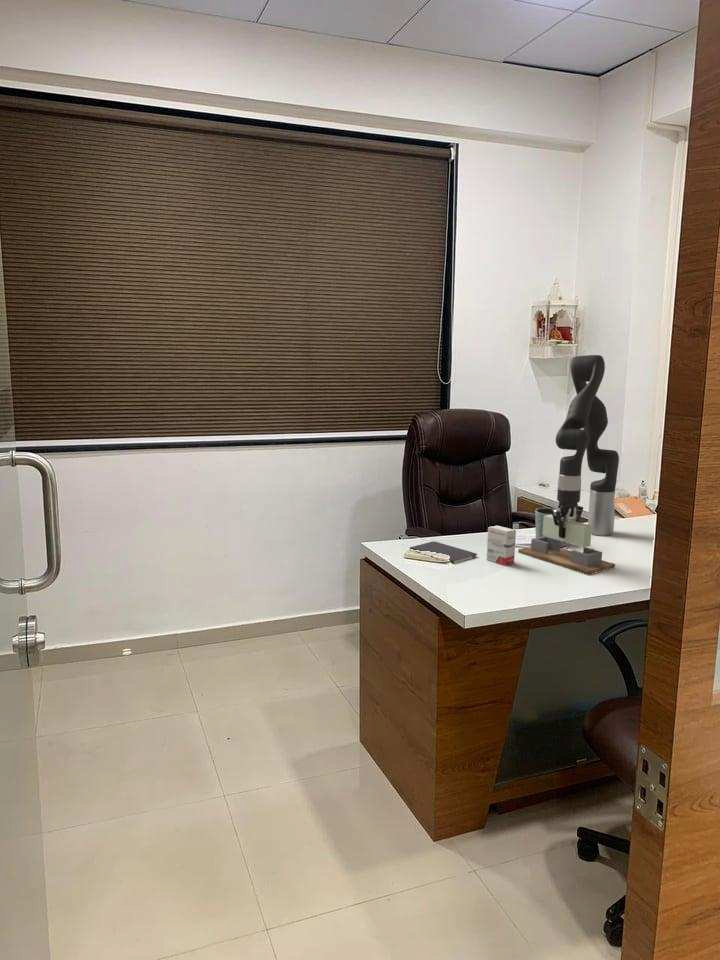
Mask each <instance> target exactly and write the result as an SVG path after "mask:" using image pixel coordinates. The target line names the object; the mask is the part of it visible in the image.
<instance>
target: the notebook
mask: <svg viewBox="0 0 720 960" xmlns="http://www.w3.org/2000/svg"><path fill="white" fill-rule="evenodd" d="M410 549H413V550H419V551H430V552H436V553H442V554H446V555H449V556H450V559H449V560H450V562H451V563H450V564H452V565H454V564H457V563H461V562H463V561H467V560H470V559H475V558H477V555H478V553H476V552H473V551H470V550H466V549H462V548H459V547H456V546H452V545H449V544H445V543H442V542H439V541H428V542H425V543H422V544H417V545H413V546H410V547H409V550H410Z"/></svg>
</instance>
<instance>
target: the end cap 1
mask: <svg viewBox="0 0 720 960" xmlns="http://www.w3.org/2000/svg"><path fill="white" fill-rule="evenodd" d="M530 544H531V546H530V547H531V550H533V551H537V552H540V553H543V554H548V549H551V550H554V551H557V552H558V551H560V548H561V541H560V540H557V539H554V538H551V537H547V536H543V537H538V538H535V537H533V538H531V542H530Z"/></svg>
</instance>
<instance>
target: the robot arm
mask: <svg viewBox="0 0 720 960" xmlns="http://www.w3.org/2000/svg"><path fill="white" fill-rule="evenodd" d="M605 365H606V363H605V359H604V357H603V356H602V355H601V354H600V355H599V354H592V355H590V354H589V355H588V354H587V355H586V354H585V355H578V356H574V357H573V358H572V359H571V360H570V374H571V377H572V378H571V379H572V382H573V386H574V389H575V393H576V395H575V396H574V397H573V399H572V400H571V401H570V404H569V405H568V406H569V407H568V410H567V413H566V414H567V415H566V418H565V420H564V422H563V423H562V424H561V426H560V428H559V429H558V431H557V433H556V436H555V444H556V446H557V447H558V448H559V449H561V450H569V451H576V452H575V454H573V455H569V456H568V455H567V456H563V457H561V458H560V461H559V472H558V480H557V494H556V500H557V501H558V506H557V508H555V509H556V510H552V515H553V520H554V524H555V525H556V526H559V537H560V538H565V533H566V528H565V527H566V522H567V521H568V520H572V521H576V522H580V520H581V518H582V517H581V516H582V513H583V511H584V506H580V505H579V504H578V503H580V502H581V491H582V467H583V465H582V464H583V460H584V456H585V453H586V462H587V467H588V469H589V471H591V472H593V473H600V474H605V475H604V477H603V478H602V479H600V480H599V479H598V480H594V481H592V482H591V483H590V488H589V502H588V515H587V517H588V518H587V524H588V525H591V526H592V530H591V535H594V536H610V535H612V534H613V533H614V527H615V513H616V510H615V499H616V498H615V496H616V486H617V479H618V470H619V464H620V455H619V452H618V451H617V450H612V449H605V448H600V447H599V445H598V444H599V443H598V442H599V439H600V438H601V436H602V435H603V434H604V432H605V431H606V429H607V427H608V424H609V419H608V413H607V407H606V405H605V404H604V402H603V401H602V400H601V399H600V398H599V397H598V396H597V393H598V391H599V388H600V386H601V383H602V382H603V378H604V375H605V370H606V366H605ZM562 520H563V524H562Z"/></svg>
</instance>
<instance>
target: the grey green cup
mask: <svg viewBox="0 0 720 960" xmlns="http://www.w3.org/2000/svg"><path fill="white" fill-rule="evenodd" d="M556 509H557V508H555V507H554V508H553V507H537V508H535V510H534V511H535V512H534V514H535V523H534V524H535V537H536V538H538V537H543V536H544V535H543V519H544V516H545V515H552V510H556Z"/></svg>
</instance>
